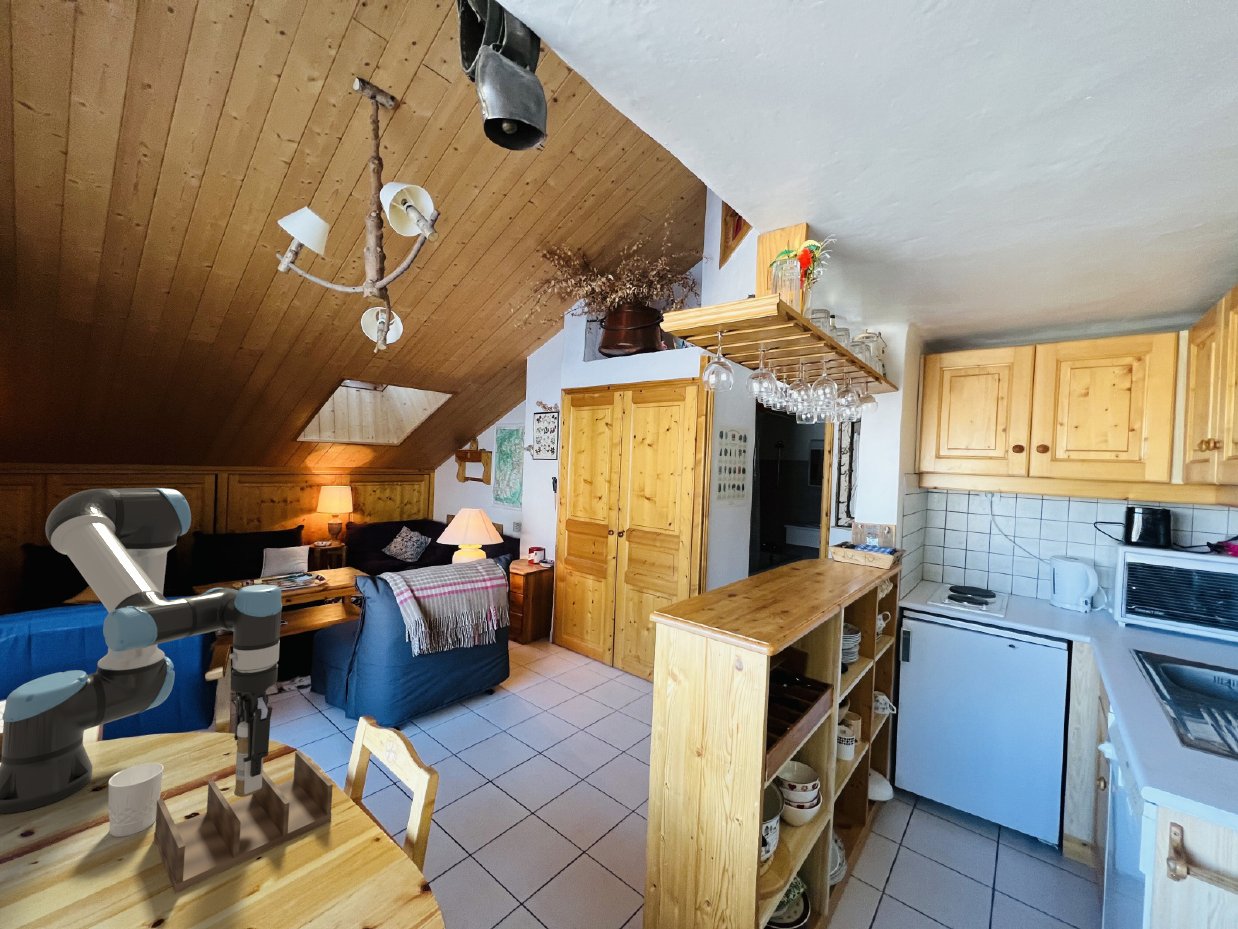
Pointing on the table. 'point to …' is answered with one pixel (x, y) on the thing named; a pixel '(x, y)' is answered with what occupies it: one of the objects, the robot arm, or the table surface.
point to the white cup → (134, 798)
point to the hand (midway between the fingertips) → (248, 784)
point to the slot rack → (241, 825)
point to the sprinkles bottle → (241, 759)
